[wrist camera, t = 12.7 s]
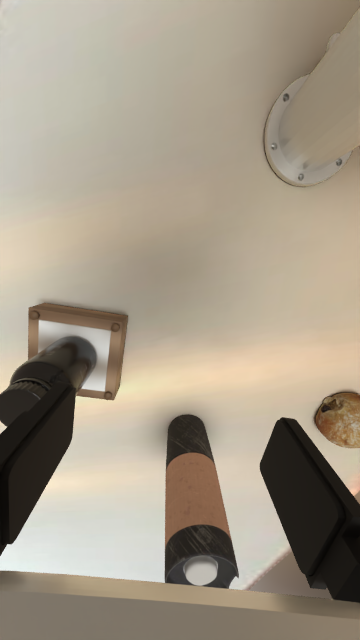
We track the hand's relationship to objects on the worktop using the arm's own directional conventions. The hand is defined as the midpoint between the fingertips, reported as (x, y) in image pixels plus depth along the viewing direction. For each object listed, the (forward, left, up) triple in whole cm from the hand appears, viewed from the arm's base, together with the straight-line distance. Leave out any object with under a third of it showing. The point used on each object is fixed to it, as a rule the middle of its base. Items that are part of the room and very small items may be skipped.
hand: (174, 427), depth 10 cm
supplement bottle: (+8, -13, -22) cm, 27 cm away
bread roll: (+15, +36, -26) cm, 47 cm away
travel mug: (+22, +7, -26) cm, 35 cm away
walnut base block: (+8, -13, -26) cm, 30 cm away
